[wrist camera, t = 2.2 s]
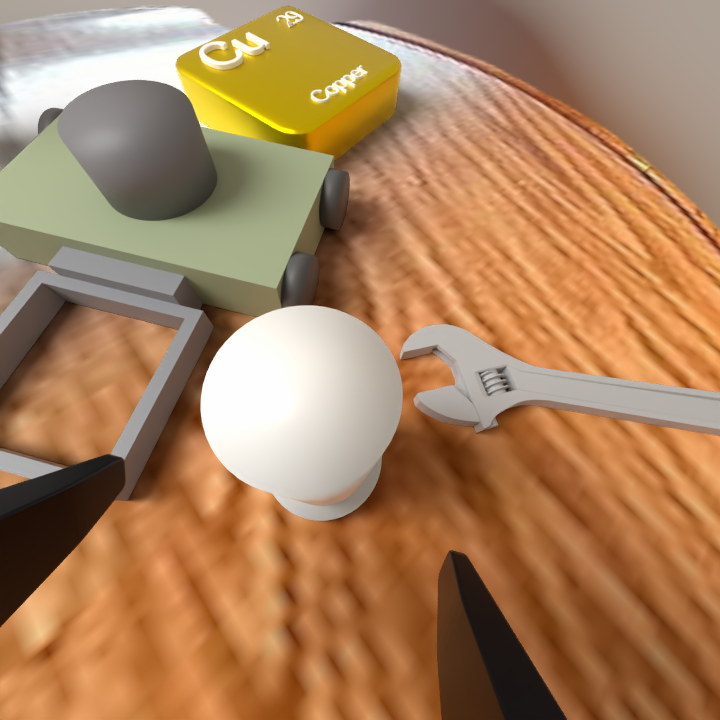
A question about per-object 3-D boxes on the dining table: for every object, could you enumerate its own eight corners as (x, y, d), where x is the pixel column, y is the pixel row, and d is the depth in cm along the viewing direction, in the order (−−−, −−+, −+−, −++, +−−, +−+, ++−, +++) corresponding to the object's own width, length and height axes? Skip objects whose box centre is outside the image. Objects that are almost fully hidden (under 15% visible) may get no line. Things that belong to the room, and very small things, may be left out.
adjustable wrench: (770, 409, 23) (803, 402, 21) (800, 511, 20) (841, 511, 19) (408, 328, 24) (413, 314, 22) (391, 415, 21) (395, 407, 19)
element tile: (303, 189, 29) (296, 132, 25) (184, 115, 32) (160, 53, 28) (403, 111, 34) (412, 53, 30) (292, 54, 37) (286, -6, 33)
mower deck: (229, 529, 18) (151, 541, 10) (-152, 421, 19) (-461, 364, 12) (348, 205, 28) (351, 96, 20) (95, 148, 29) (13, 26, 22)
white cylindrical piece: (306, 547, 18) (251, 604, 7) (247, 445, 20) (128, 359, 9) (402, 472, 19) (482, 419, 8) (338, 385, 21) (337, 251, 10)
